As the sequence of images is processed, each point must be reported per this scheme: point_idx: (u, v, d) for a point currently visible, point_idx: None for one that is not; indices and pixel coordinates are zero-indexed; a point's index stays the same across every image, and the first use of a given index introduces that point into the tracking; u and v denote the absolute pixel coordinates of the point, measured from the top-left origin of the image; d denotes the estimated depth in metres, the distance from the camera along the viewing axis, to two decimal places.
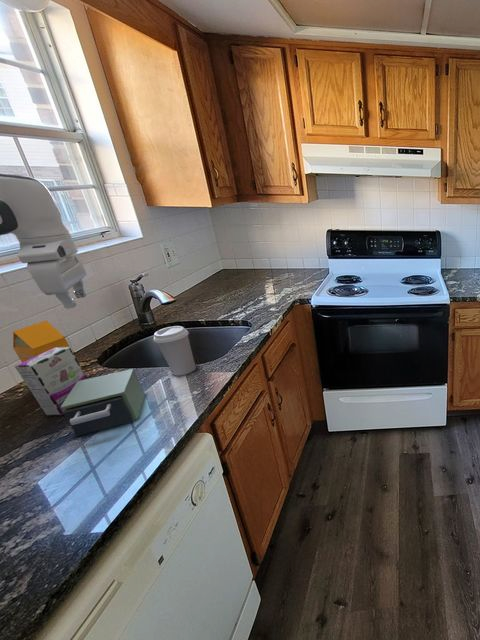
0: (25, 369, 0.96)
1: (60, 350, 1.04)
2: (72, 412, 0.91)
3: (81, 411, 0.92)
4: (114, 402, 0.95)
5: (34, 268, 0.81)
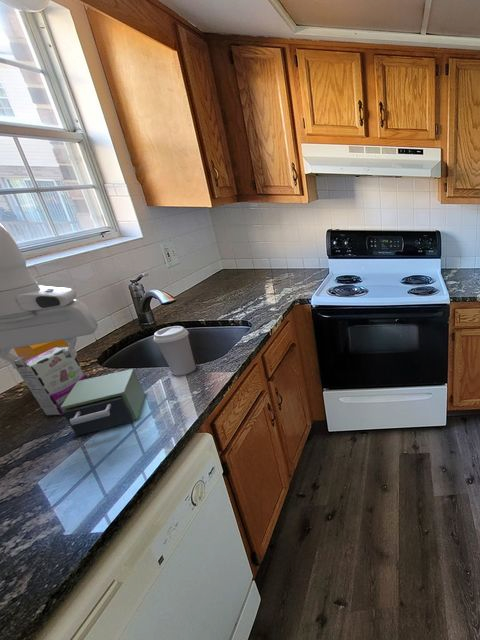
0: (25, 369, 0.96)
1: (60, 350, 1.04)
2: (72, 412, 0.91)
3: (81, 411, 0.92)
4: (114, 402, 0.95)
5: (78, 307, 0.77)
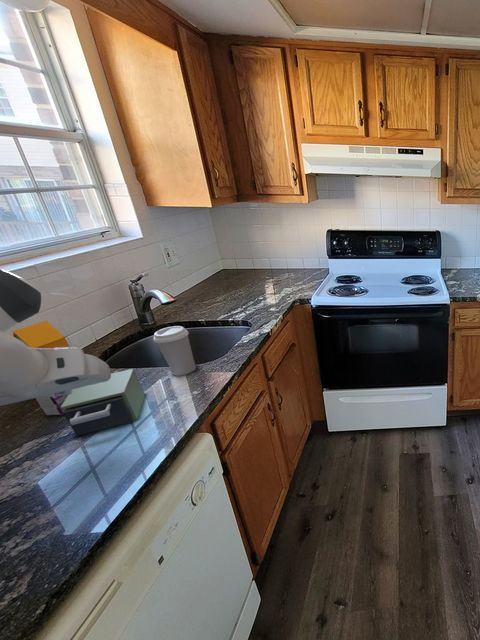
0: None
1: None
2: (72, 412, 0.91)
3: (81, 411, 0.92)
4: (114, 402, 0.95)
5: (94, 370, 0.75)
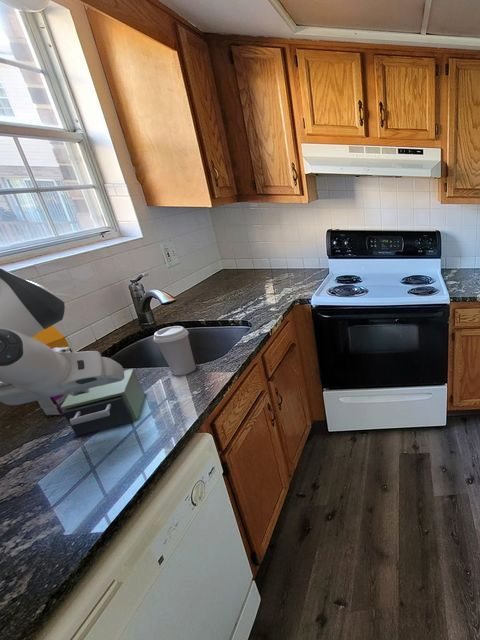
0: None
1: (60, 350, 1.04)
2: (72, 412, 0.91)
3: (81, 411, 0.92)
4: (114, 402, 0.95)
5: (110, 371, 0.83)
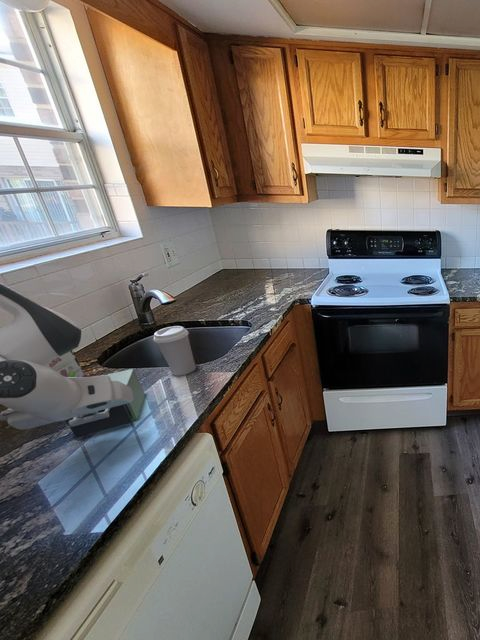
0: None
1: None
2: None
3: None
4: None
5: (119, 395, 0.85)
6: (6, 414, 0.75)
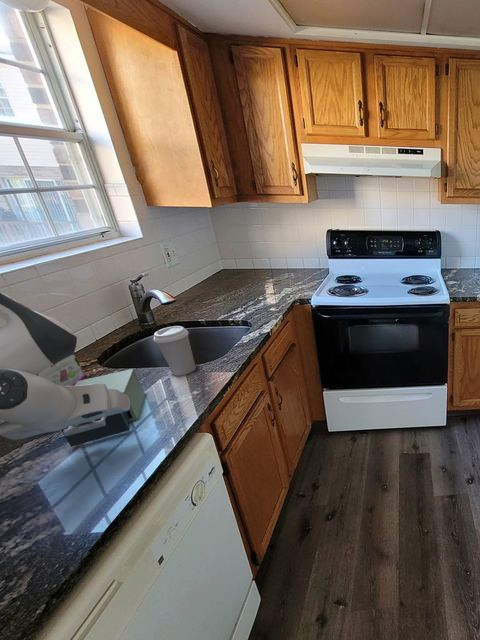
0: None
1: None
2: None
3: None
4: None
5: (116, 403, 0.82)
6: None
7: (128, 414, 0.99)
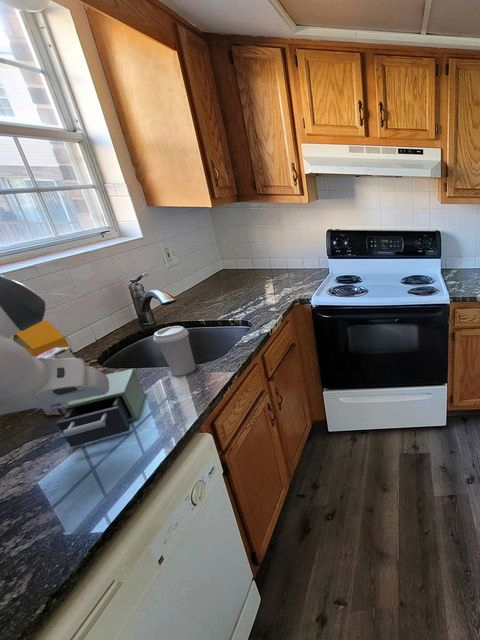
0: None
1: (60, 350, 1.04)
2: (66, 423, 0.87)
3: (75, 421, 0.88)
4: (110, 412, 0.91)
5: (93, 382, 0.75)
6: None
7: (128, 414, 0.99)
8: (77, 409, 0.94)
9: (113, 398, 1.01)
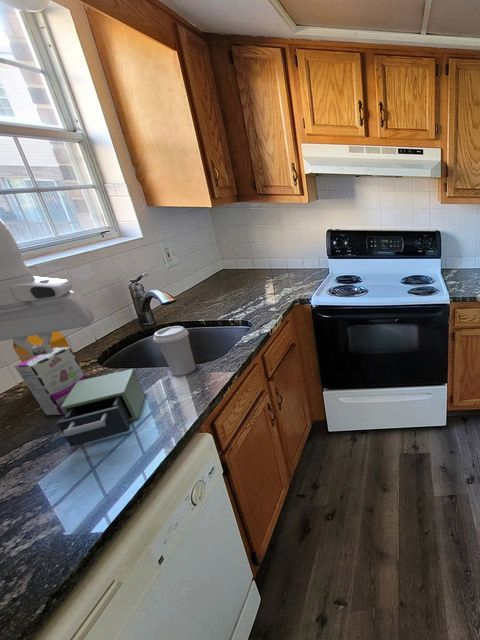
0: (25, 369, 0.96)
1: (60, 350, 1.04)
2: (66, 423, 0.87)
3: (75, 421, 0.88)
4: (110, 412, 0.91)
5: (74, 298, 0.76)
6: None
7: (128, 414, 0.99)
8: (77, 409, 0.94)
9: (113, 398, 1.01)
